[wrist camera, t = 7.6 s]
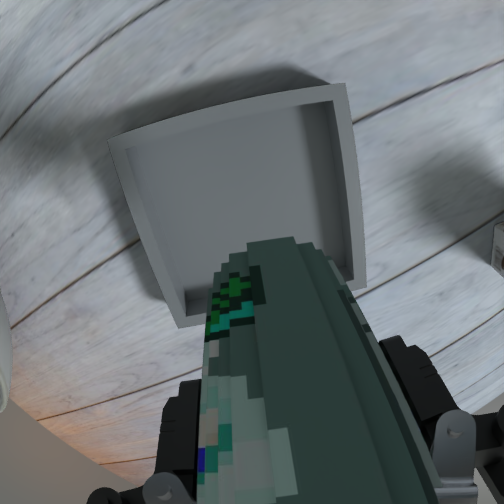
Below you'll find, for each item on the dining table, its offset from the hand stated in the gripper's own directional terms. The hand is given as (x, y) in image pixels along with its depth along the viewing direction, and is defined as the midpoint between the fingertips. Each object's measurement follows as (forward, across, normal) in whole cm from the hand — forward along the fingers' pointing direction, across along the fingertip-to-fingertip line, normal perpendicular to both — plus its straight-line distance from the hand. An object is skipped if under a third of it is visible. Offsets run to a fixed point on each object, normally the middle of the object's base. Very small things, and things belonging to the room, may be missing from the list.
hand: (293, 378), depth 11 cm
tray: (+19, +1, 0) cm, 19 cm away
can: (+5, 0, 0) cm, 5 cm away
